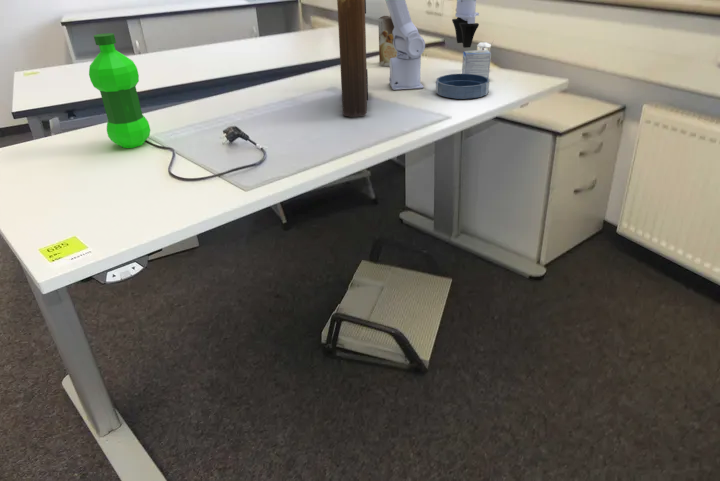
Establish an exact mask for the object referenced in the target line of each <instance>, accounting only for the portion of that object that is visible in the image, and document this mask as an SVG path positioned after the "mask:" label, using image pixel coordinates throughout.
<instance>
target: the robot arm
mask: <svg viewBox="0 0 720 481" xmlns="http://www.w3.org/2000/svg"><path fill="white" fill-rule="evenodd" d="M385 3H386V6H387V9H388V12H389V16H391V19H392V22H393V25H394V29H393V32H392V33H393V36H394V41H393V45H394V48H395V50H396V51H397V57H395V58H390V66H389V79H388V80H389V83H388V84H389V86H390V88H391V89H392V90H393V91H396V90H397V91H399V90H400V91H401V90H415V89H417V90H418V89H424V85H423V84H422V83H421V64H422V54H423V53H424V52H425V49H426V41H425V39H424V37H423V36H421V35H420V33H419V29H418V28H417V26H416V25H415V24H414V22H413V21H412V17H411V15H410V11H409V8H408V5H407V1H406V0H385ZM476 8H477V0H456V10H455V11H456V12H455V17H456V18H452V20H451V21H452V24H453V26H454V31H455V38H456V43H457V44H462V47H463V48H464V49H467V48H471V46H472V44H473V40H474V37H475V34H476V31H477V30H478V28H479V27H480V26H479V25H480V24H479V23H478V22H476V17H478V16H480V13H479V12H476Z"/></svg>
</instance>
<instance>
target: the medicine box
mask: <svg viewBox="0 0 720 481" xmlns="http://www.w3.org/2000/svg"><path fill="white" fill-rule="evenodd" d="M491 58H492V53H491V51H490V52H489V51H488V50H477V49H476V50H475V49H474V50H463V51H462V63H461V64H462V66H461V74H476V75H481V76H484V77H487V78H488V79H489V80H490V68H491V60H492V59H491Z"/></svg>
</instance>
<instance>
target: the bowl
mask: <svg viewBox="0 0 720 481" xmlns="http://www.w3.org/2000/svg"><path fill="white" fill-rule="evenodd" d="M489 89H490V78H489V79H488V78H487V77H484V76H481V75H476V74H462V73H449V74H444V75H441V76H439V77H437V78H436V80H435V93H436V94H437V95H439V96H441V97H444V98H449V99H456V100H471V99H478V98H481V97H483V96H486V95H488V94H489V91H490V90H489Z"/></svg>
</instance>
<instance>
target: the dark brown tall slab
mask: <svg viewBox="0 0 720 481" xmlns="http://www.w3.org/2000/svg"><path fill="white" fill-rule="evenodd" d="M336 4H337V22H338V24H337V26H338V43H339V44H338V45H339V65H340V84H341V85H340V86H341V104H342V105H341V106H342V108H341V109H342V114H343V116H344V117H351V118H352V117H363V116H366V115H367V113H368V101H369V77H368V73H369V72H368V68H367V35H366V34H367V31H366V14H367V0H336Z"/></svg>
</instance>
